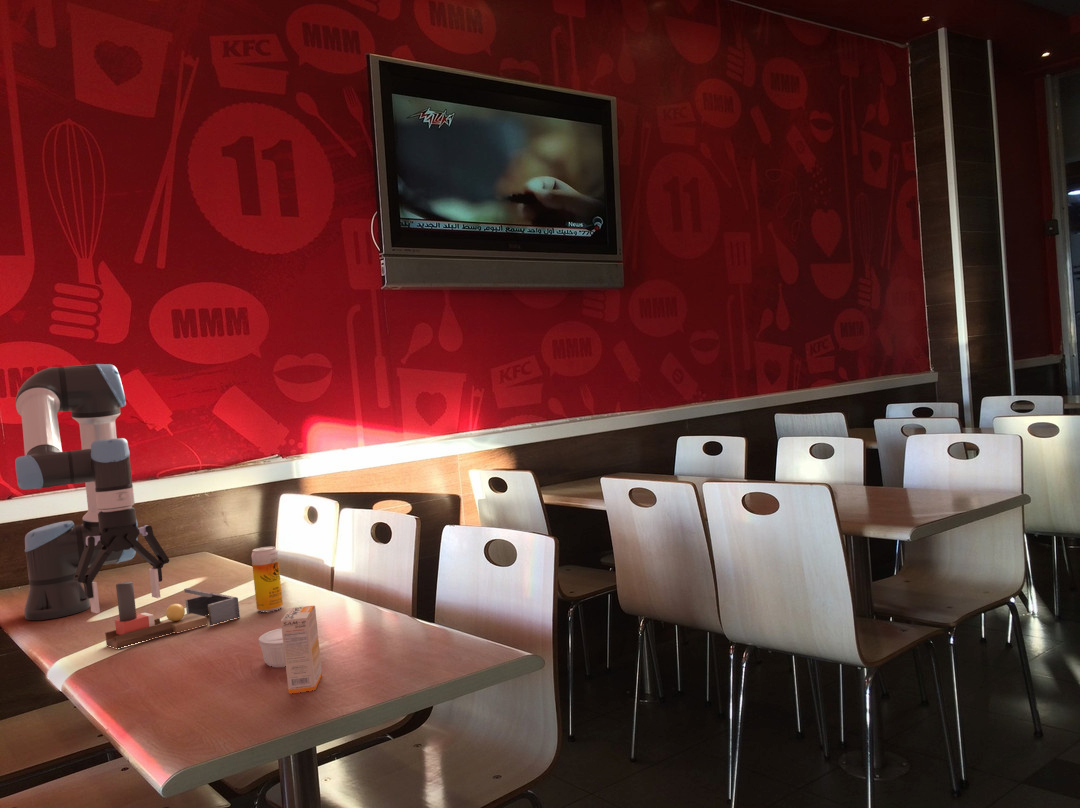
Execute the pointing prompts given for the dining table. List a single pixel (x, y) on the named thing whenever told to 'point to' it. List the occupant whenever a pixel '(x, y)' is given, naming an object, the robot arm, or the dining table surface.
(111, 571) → the dining table surface
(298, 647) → the supplement box
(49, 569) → the robot arm
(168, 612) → the ball
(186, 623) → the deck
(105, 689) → the dining table surface
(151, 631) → the rail
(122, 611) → the post on red base
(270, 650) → the ramekin
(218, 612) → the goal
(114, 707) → the dining table surface
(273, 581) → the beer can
